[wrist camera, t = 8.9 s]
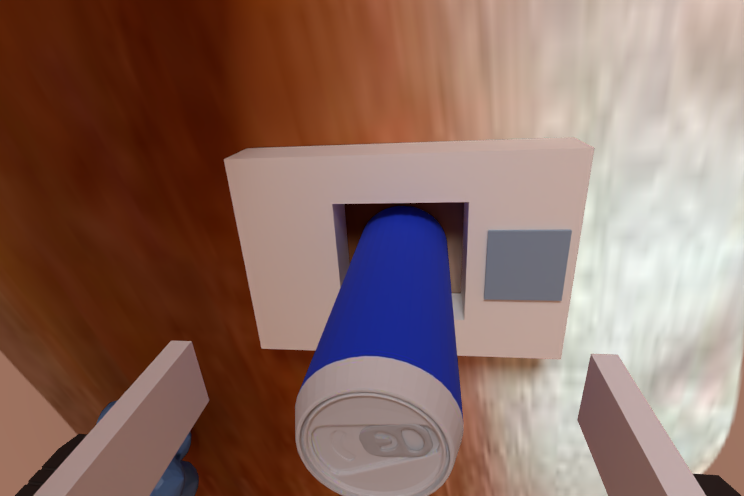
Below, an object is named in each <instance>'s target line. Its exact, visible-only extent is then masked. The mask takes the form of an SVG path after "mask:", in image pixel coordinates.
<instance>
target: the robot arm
mask: <svg viewBox="0 0 744 496" xmlns="http://www.w3.org/2000/svg"><path fill="white" fill-rule="evenodd" d="M208 402H209V398H208V395H207V391H206V388H205V385H204V381H203V378H202V375H201V371H200V368H199V365H198V361H197V358H196V354H195V351H194V348H193V344H192V341H170V343H169V344H168V345H167V346H166V347H165V348H164V349H163V350H162V352H161V353H160V354H159V355H158V356H157V357H156V358H155V359H154V361H153V362H152V363H151V364H150V365H149V366H148V367H147V368H146V370H145V371H144V372H143V373H142V374H141V375H140V376H139V377H138V379H137V380H136V381H135V382H134V383H133V384H132V385H131V386H130V387H129V389H128V390H127V391H126V392H125V393H124V394H123V395H122V396H121V398H120V399H119V400H118V401H117V402H116V403H115V404H114V405H113V407H112V408H111V409H110V410H109V411H108V412H107V413H106V414H105V416H104V417H103V418H102V419H101V420H100V421H99V422H98V423H97V425H96V426H95V427H94V428H93V429H92V430H91V431H90V432H89V434H88V435H87V434H78V435H77V436H76V437H74V438H73V439H72V440H70V441H69V442H67V443H66V444H65V445H63V446H62V447H61V448H59V449H58V450H57V451H56V452H55V453H54V454H53V455H52V456H51V458H50V459H49V460H48V461H47V462H46V463H45V464H44V465H43V466H42V469H41V470H38V472H37V473H36V474H35V475H34V476H33V477H32V478H31V479H30V480H29V483H28V484H27V485H24V487H23V488H22V489H21V490H20V491H19V492H18V493H17V494H16V495H15V496H150V494H151V492H152V491H153V489H154V488H155V486H156V484H157V483H158V481H159V480H160V478H161V476H162V475H163V473H164V472H165V470H166V469H167V467H168V465H169V464H170V462H171V461H172V459H173V457H174V456H175V454H176V453H177V451H178V449H179V448H180V446H181V445H182V443H183V441H184V440H185V438H186V437H187V435H188V434H189V432H190V430H191V429H192V427H193V426H194V424H195V422H196V421H197V419H198V418H199V416H200V414H201V413H202V411H203V410H204V408H205V406H206V405H207V403H208ZM578 422H579V425H580V427H581V429H582V432H583V434H584V437H585V439H586V442H587V444H588V447H589V449H590V452H591V454H592V457H593V459H594V461H595V464H596V466H597V469H598V471H599V474H600V476H601V479H602V481H603V484H604V486H605V489H606V491H607V494H608V496H741V495H740V494H739V493H738V492H737V491H736V490H734V489H733V488H732V487H731V486H730V485H729V484H728V483H726V482H725V481H724V480H723V479H722V478H721V477H720V476H718V475H704V474H692V472H691V471H690V469H689V467H688V466H687V464H686V463H685V461H684V460H683V458H682V456H681V455H680V453H679V452H678V450H677V448H676V447H675V445H674V444H673V442H672V440H671V439H670V437H669V436H668V434H667V432H666V431H665V429H664V428H663V426H662V424H661V423H660V421H659V420H658V418H657V416H656V415H655V413H654V412H653V410H652V408H651V407H650V405H649V404H648V402H647V400H646V399H645V397H644V396H643V394H642V392H641V391H640V389H639V388H638V386H637V384H636V383H635V381H634V380H633V378H632V376H631V375H630V373H629V372H628V370H627V368H626V367H625V365H624V364H623V362H622V360H621V359H620V357H619V356H618V355H610V354H591V357H590V362H589V367H588V371H587V376H586V381H585V386H584V391H583V396H582V401H581V405H580V410H579V415H578Z"/></svg>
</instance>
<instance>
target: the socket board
mask: <svg viewBox="0 0 744 496" xmlns="http://www.w3.org/2000/svg"><path fill="white" fill-rule="evenodd" d="M593 153H594V147H592V146H590V145H588V144H586V143H584V142H582V141H580V140H578V139H577V138H575V137H560V138H531V139H502V140H473V141H444V142H415V143H386V144H357V145H328V146H299V147H270V148H246V149H244V150H242V151H240V152H238V153H236V154H234V155H232V156H230V157H227V158H225V159H224V163H225V168H226V173H227V178H228V183H229V188H230V193H231V198H232V203H233V208H234V213H235V218H236V223H237V228H238V233H239V238H240V243H241V248H242V253H243V258H244V263H245V268H246V273H247V278H248V283H249V288H250V293H251V298H252V303H253V308H254V313H255V318H256V323H257V328H258V333H259V338H260V343H261V348H262V349H287V350H315V351H316V348H317V346H318V343H319V341H320V338H321V336H322V333H323V331H324V328H325V326H326V323H327V321H328V318H329V316H330V313H331V311H332V308H333V305H334V303H335V300H336V298H337V295H338V293H339V290H340V288H341V285H342V283H343V280H344V278H345V275H346V273H347V270H348V268H349V265H350V262H349V251H348V239H347V228H346V216H345V204H370V203H439V202H464V217H463V245H462V273H461V293H452V303H453V314H454V325H455V336H456V347H457V356H482V357H510V358H538V359H561V355H562V348H563V342H564V336H565V330H566V323H567V317H568V311H569V304H570V298H571V292H572V286H573V279H574V273H575V267H576V260H577V254H578V248H579V241H580V235H581V229H582V223H583V216H584V210H585V204H586V197H587V191H588V185H589V179H590V172H591V166H592V160H593Z"/></svg>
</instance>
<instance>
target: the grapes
mask: <svg viewBox="0 0 744 496" xmlns="http://www.w3.org/2000/svg"><path fill="white" fill-rule="evenodd" d="M117 401H118V400H117ZM117 401H114V402H111V403H109V404H108V405H107V406H106V407H105V408H104V409H103V410H102V412H101V414H100V416H99V418H98V421H97V423H98V422H99V421H100V420H101V419H102V418H103V417H104V416H105V414H106V413H107V412H108V411H109V410H110V409H111V408H112V407H113V405H114V404H115V403H116V402H117ZM97 423H96V425H97ZM190 445H191V432H189V434H188V435H187V437H186V438H185V440H184V441H183V443H182V445H181V446H180V448H179V449H178V451H177V453H176V454H175V456H174V457H173V459H172V461H171V462H170V464H169V465H168V467H167V469H166V470H165V472H164V473H163V475H162V476H161V478H160V480H159V481H158V483H157V484H156V486H155V488H154V489H153V491H152V492H151V494H150V496H195V494H196V491H197V488H198V482H199V476H198V473H197V470H196V468H195V467H194V466H193V465H192V464H191V463H190V462H186V461H182V459H183V458H184V457H185V455H186V454H187V453H188V451H189V448H190Z"/></svg>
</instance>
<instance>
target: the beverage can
mask: <svg viewBox="0 0 744 496" xmlns="http://www.w3.org/2000/svg"><path fill="white" fill-rule="evenodd" d="M462 436H463V413H462V402H461V391H460V380H459V369H458V358H457V347H456V336H455V325H454V314H453V303H452V292H451V281H450V270H449V259H448V248H447V240H446V236H445V233H444V230H443V229H442V227H441V225H440V224H439V223H438V221H437V220H436V219H435V218H434V217H433V216H432V215H430V214H429V213H427V212H426V211H423V210H421V209H419V208H415V207H411V206H395V207H390V208H387V209H384V210H382V211H381V212H379V213H377V214H376V215H375V216H373V217H372V218H371V219H370V221H369V222H368V223H367V225H366V226H365V228H364V230H363V233H362V235H361V238H360V240H359V243H358V245H357V248H356V250H355V253H354V255H353V258H352V260H351V263H350V265H349V268H348V270H347V273H346V275H345V278H344V280H343V283H342V285H341V288H340V290H339V293H338V295H337V298H336V300H335V303H334V305H333V308H332V311H331V313H330V316H329V318H328V321H327V323H326V326H325V328H324V331H323V333H322V336H321V338H320V341H319V343H318V346H317V348H316V351H315V353H314V356H313V358H312V361H311V363H310V366H309V368H308V371H307V373H306V376H305V378H304V381H303V383H302V386H301V388H300V391H299V393H298V396H297V400H296V405H295V440H296V445H297V450H298V453H299V455H300V457H301V460H302V461H303V463H304V465H305V466H306V468H307V469H308V470H309V471H310V473H311V474H312V475H313V476H314V477H315V478H316V479H317V480H318V481H320V482H321V483H322V484H323V485H325V486H326V487H328V488H329V489H331V490H333V491H334V492H336V493H338V494H340V495H342V496H429V495H430V494H432V493H433V492H435V491H436V490H437V489H438V488H440V487H441V486H442V485H443V484H444V482H445V481H446V480H447V478H448V477H449V475H450V473H451V471H452V469H453V466H454V463H455V460H456V457H457V453H458V450H459V447H460V444H461V440H462Z"/></svg>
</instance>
